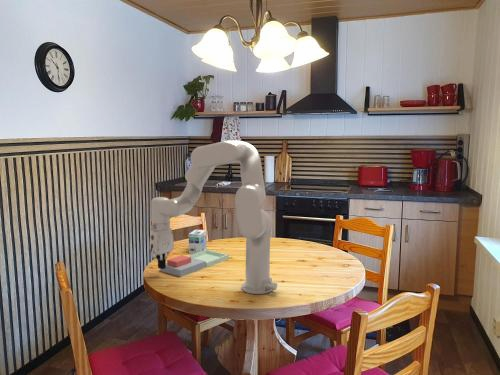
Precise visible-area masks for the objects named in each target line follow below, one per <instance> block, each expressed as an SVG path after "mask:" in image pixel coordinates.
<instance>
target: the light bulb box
mask: <svg viewBox="0 0 500 375" xmlns="http://www.w3.org/2000/svg"><path fill="white" fill-rule="evenodd" d="M207 233H208V231H207V230H206V229H196V228H195V229H194V230H192V231H191V232H189V233H188V254H190V255H192V254H195V253H198V252H201V251H204V250H208V247H207V246H208V242H207V241H208V240H207V239H208V237H207V236H208V234H207Z"/></svg>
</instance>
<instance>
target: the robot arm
mask: <svg viewBox="0 0 500 375" xmlns="http://www.w3.org/2000/svg"><path fill="white" fill-rule="evenodd" d="M190 162H191V165H190V167H189V168H188V170H187V171H186V173H185V174H184V178H185V180H186V182H187V183H186V186H185V187H184V190H183V191H182V192H181V194H180V196H178V197H174V198H171V199H169V198H168V197H165V196H158V197H153V198H152V199H151V203H150V204H151V208H150V209H151V225H150V227H149V228H150V230H151V231H150V234H149V252H150V257H151V258H155V259H156V260H157V268H158V269H159V270H160V269H165V268H166V263H167V260H168V259H167V258H168V256H169V254H171V253H172V252H173V251H174V248H175V243H174V242H175V241H174V234H173V230H172V229H173V228H171V218H176V217H179V216H183V215H185V214H187V213H189V212H190V211H191V210H192V209H193V208H194V206H195V205H196V203H197V201H198V200H199V198H200V196H201V195H202V191H203V189H204V188H203V187H204V185H205V184H206V182H207V180H208V179H209V177H210V176H211V175H212V173H213V171H214V170H215V168H216V167H219V166H222V165H228V164H235V163H239V164H240V178H241V186H240V188H238V189H237V191H236V192H235V196H234V205H235V206H234V207H235V213H236V222H237V227H238V231H239V233H240V235H241V236H242V237H244V239H246V240H245V282H243V283H242V284H241V290H242V291H243V292H244V293H247V294H252V295H264V294H268V293H271V292H272V291H277V288H278V282H273V278H272V277H271V276H270V275H271V272H270V271H271V270H270V268H271V266H270V264H271V263H270V262H271V260H270V259H271V258H270V257H271V238H272V234H271V233H272V225H273V224H272V217H271V216H270V214H269V213H268V212H267V211H265V210H263V209H262V208H261V207H262V206H261V205H263V204H264V203H265V201H266V199H267V198H266V197H267V194H266V188H265V180H264V173H263V168H262V159H261V156H260V154H259V152H258V150H257V148H256V147H254V145H252V144H250V143H249V142H246V141H243V140H224V141H220V142H216V143H215V142H213V143H210V144H206V145H202V146H198V147H195V148H194V150H192V152H191V154H190Z"/></svg>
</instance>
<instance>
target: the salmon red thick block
mask: <svg viewBox="0 0 500 375" xmlns="http://www.w3.org/2000/svg"><path fill="white" fill-rule="evenodd" d="M187 256H188V255H183V254H182V255H177V256H175V257H172V258H169V259H166V263H167V265H169V266H173V267H176V268H177V267H180V266H183V265H186V264H188V263H191V257H187Z"/></svg>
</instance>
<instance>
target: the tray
mask: <svg viewBox="0 0 500 375" xmlns="http://www.w3.org/2000/svg"><path fill="white" fill-rule="evenodd" d="M186 256H187V257H191V258H195V259H199V260H203V261H206V268H209V267H212V266H214V265H216V264H218V263H219V264H220V263H221V262H224V261H228V260H229V258H230V256H229V254H228V253H223V252H218V251H214V250H209V249H207V250H204V251H201V252H198V253H195V254H190V255H186Z"/></svg>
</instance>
